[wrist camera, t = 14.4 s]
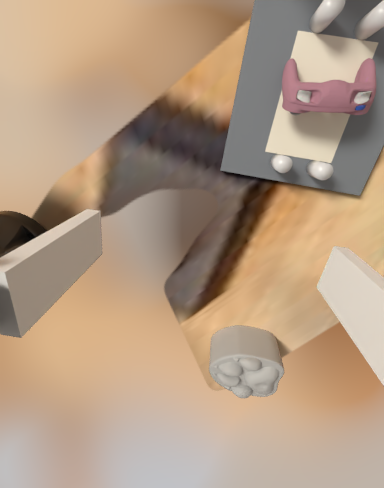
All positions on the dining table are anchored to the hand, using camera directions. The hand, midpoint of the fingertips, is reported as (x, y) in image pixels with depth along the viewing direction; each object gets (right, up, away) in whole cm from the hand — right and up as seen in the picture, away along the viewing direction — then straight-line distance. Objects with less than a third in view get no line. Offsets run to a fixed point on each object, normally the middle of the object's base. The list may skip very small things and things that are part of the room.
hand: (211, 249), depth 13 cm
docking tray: (+15, +19, +17) cm, 29 cm away
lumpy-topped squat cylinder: (+9, -21, +36) cm, 42 cm away
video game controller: (+15, +19, +15) cm, 29 cm away
